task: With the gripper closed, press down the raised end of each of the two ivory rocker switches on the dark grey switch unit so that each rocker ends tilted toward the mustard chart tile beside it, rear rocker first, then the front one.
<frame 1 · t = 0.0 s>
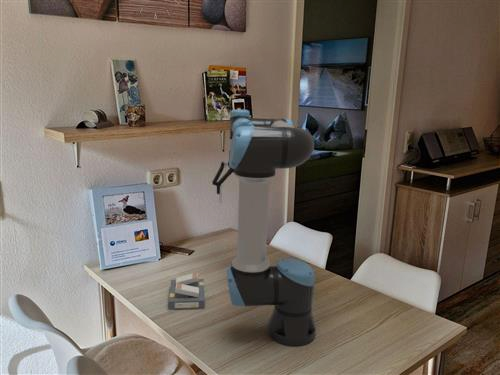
hand: (237, 201, 178), 28 cm above the table, fingers open, 13 cm apart
rocker rear: (187, 279, 161), point 5 cm above the table, hinge at -15.0°
rocker front: (187, 289, 153), point 5 cm above the table, hinge at 15.0°
switch unit: (187, 297, 158), on the table
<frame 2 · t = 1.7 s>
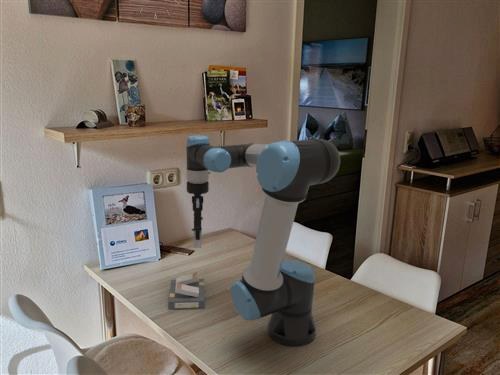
hand: (197, 242, 157), 19 cm above the table, fingers open, 9 cm apart
nothing on the table moved.
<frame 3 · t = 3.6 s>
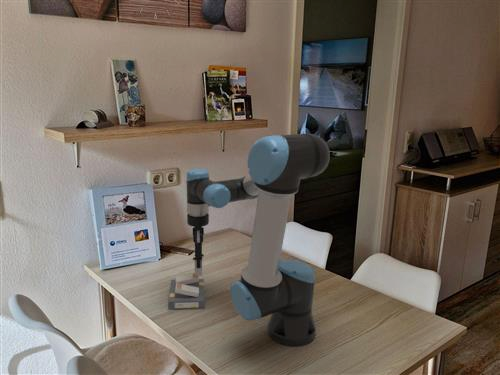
hand: (198, 274, 161), 7 cm above the table, fingers closed
rocker rear: (187, 279, 161), point 5 cm above the table, hinge at -11.5°, touching gripper
everything else where it was.
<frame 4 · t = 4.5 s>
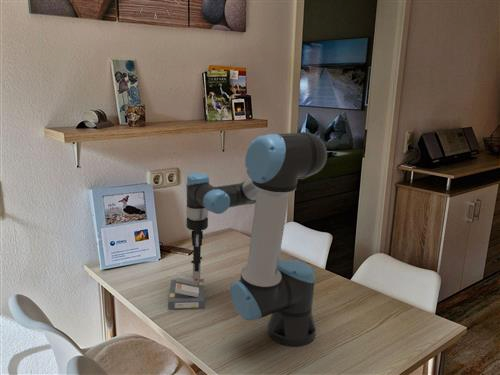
hand: (196, 277, 162), 5 cm above the table, fingers closed
rocker rear: (187, 279, 161), point 5 cm above the table, hinge at 17.4°, touching gripper
everything else where it was.
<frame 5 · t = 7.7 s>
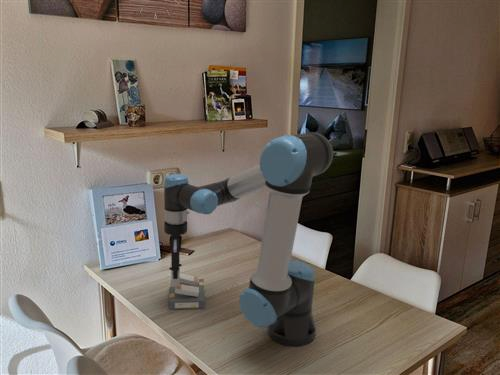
hand: (175, 285, 152), 7 cm above the table, fingers closed
rocker rear: (187, 279, 161), point 5 cm above the table, hinge at 16.3°
rocker front: (187, 289, 153), point 5 cm above the table, hinge at 11.9°, touching gripper
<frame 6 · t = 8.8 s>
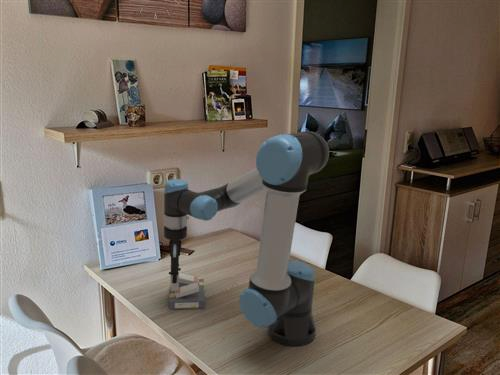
hand: (174, 289, 153), 5 cm above the table, fingers closed
rocker front: (186, 289, 153), point 5 cm above the table, hinge at -17.1°, touching gripper
everything else where it was.
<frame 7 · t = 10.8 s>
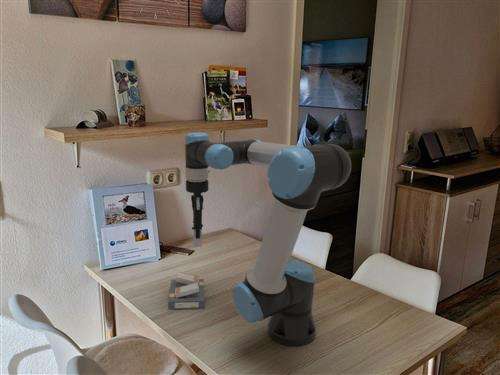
hand: (197, 245, 153), 20 cm above the table, fingers closed
rocker front: (187, 289, 153), point 5 cm above the table, hinge at -15.2°
everything else where it was.
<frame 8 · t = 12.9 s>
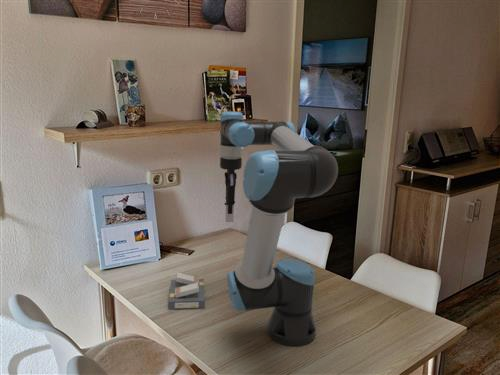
hand: (229, 221, 159), 26 cm above the table, fingers closed
nothing on the table moved.
at the end: rocker rear at +16° (first picture: -15°); rocker front at -15° (first picture: +15°) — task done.
